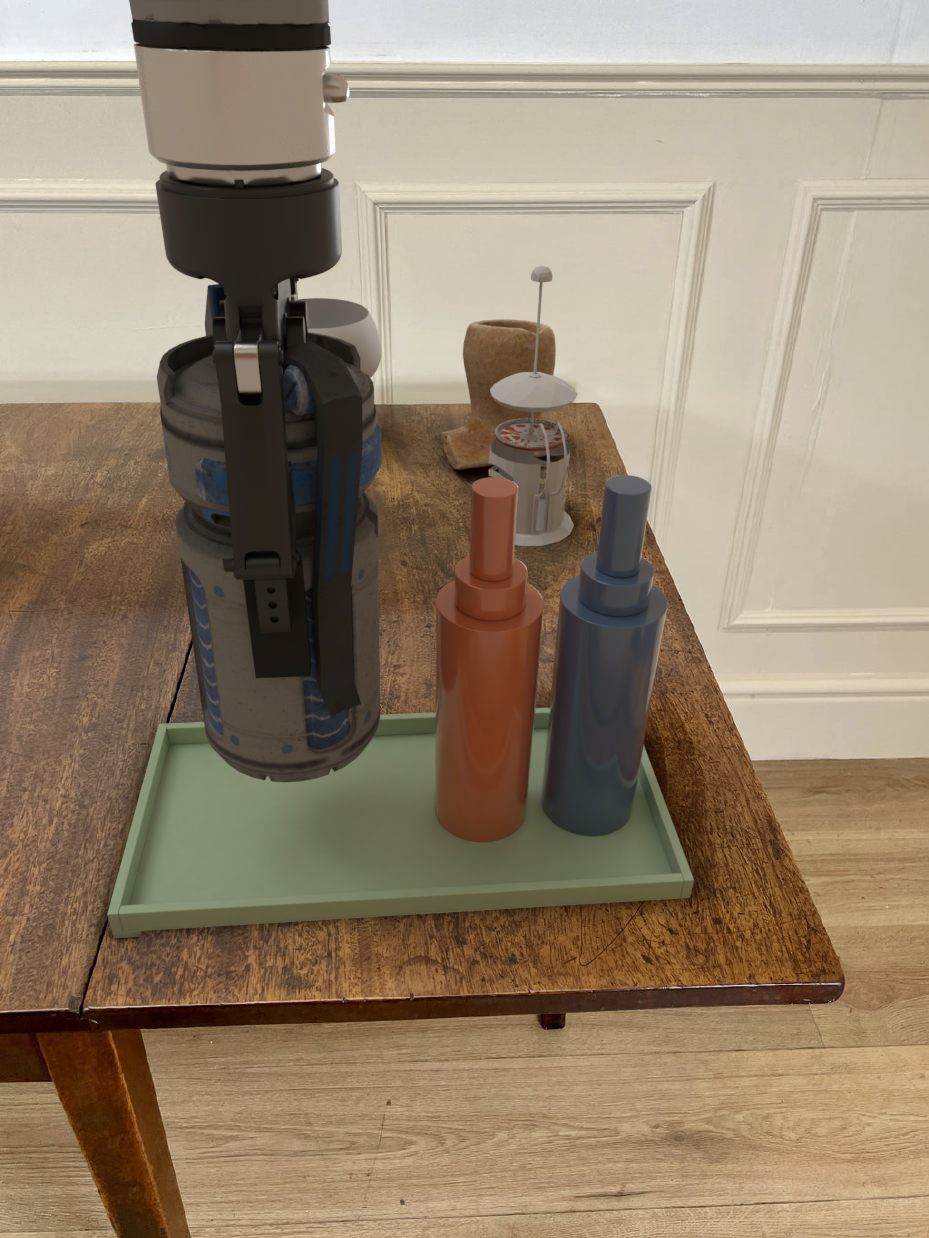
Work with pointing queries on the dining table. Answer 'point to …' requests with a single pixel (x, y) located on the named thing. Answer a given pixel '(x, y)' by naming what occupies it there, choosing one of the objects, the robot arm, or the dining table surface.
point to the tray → (363, 842)
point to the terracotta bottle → (486, 676)
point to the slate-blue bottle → (604, 671)
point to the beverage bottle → (326, 538)
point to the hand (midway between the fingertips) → (290, 612)
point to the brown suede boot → (486, 362)
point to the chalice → (347, 328)
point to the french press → (534, 447)
